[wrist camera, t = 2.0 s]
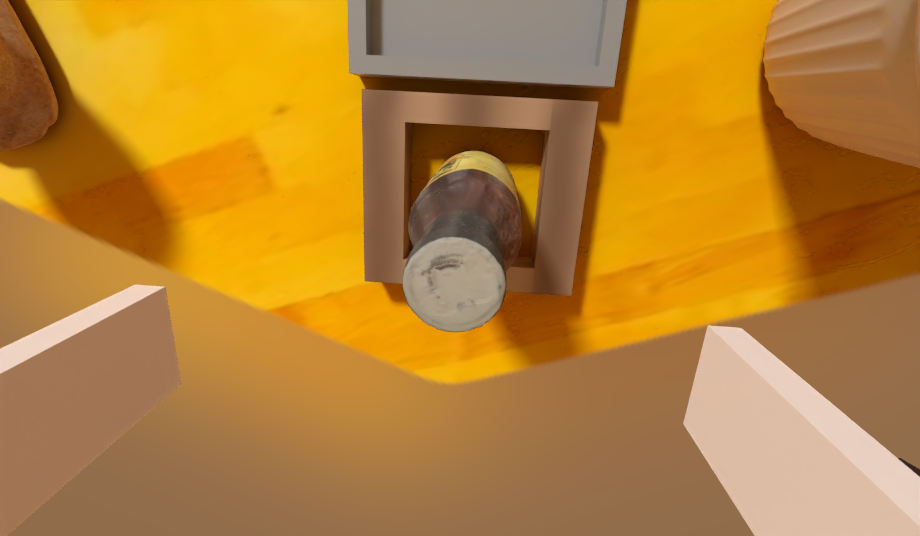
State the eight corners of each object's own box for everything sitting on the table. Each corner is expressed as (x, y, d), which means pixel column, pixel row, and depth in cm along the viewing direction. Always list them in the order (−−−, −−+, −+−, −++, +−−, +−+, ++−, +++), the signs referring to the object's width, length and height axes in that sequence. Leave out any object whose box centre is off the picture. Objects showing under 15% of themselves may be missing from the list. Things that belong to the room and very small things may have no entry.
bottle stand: (589, 103, 33) (598, 101, 30) (565, 282, 38) (571, 296, 35) (372, 91, 34) (361, 89, 31) (374, 268, 38) (364, 281, 35)
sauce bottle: (447, 138, 35) (395, 163, 16) (525, 163, 35) (566, 217, 16) (424, 219, 37) (355, 326, 18) (498, 242, 37) (506, 371, 18)
